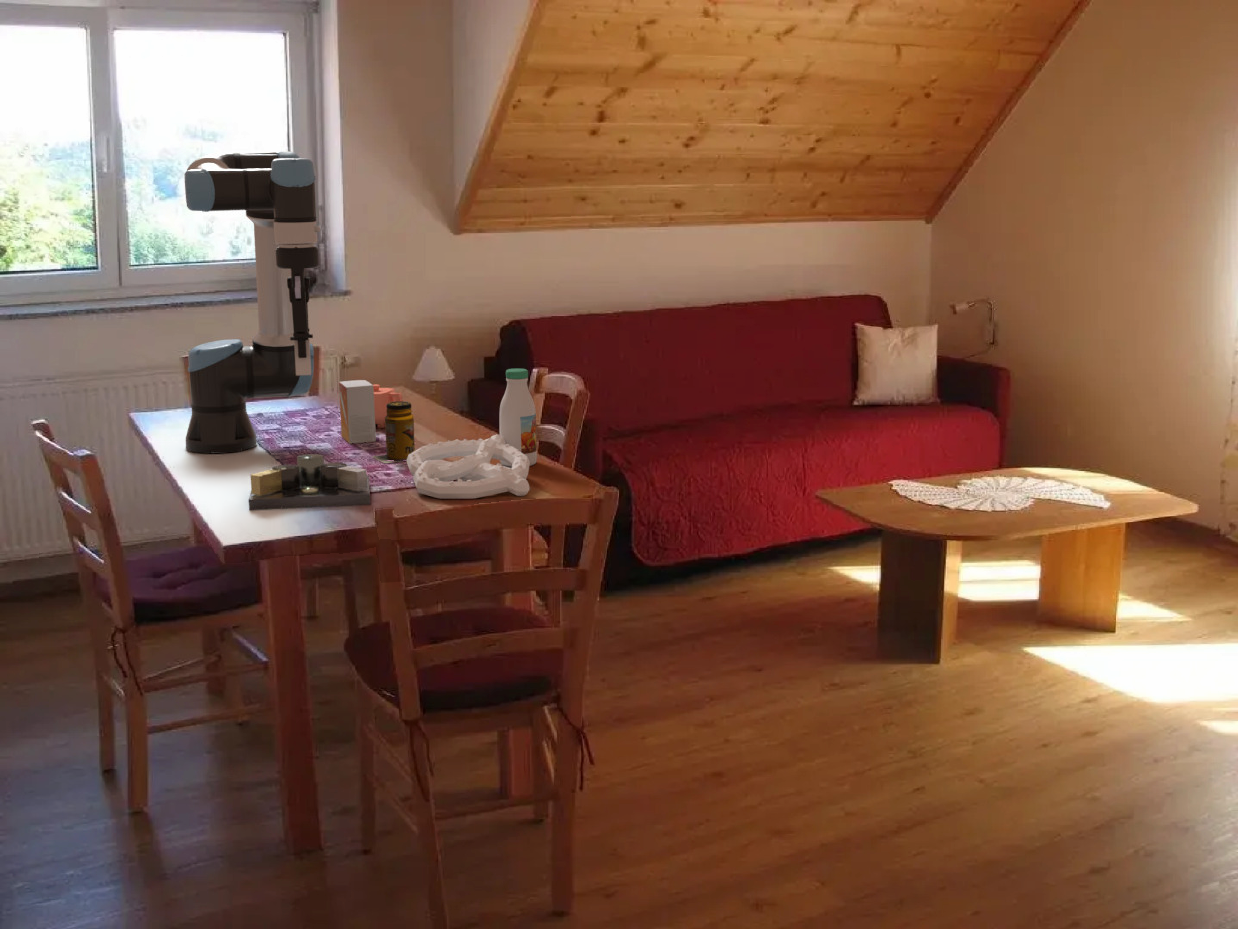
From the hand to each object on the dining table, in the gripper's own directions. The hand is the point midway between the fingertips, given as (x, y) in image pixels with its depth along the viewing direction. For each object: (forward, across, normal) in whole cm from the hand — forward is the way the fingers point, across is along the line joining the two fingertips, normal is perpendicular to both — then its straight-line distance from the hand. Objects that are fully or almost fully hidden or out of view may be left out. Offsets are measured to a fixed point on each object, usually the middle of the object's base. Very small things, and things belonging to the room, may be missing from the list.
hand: (303, 374), depth 259 cm
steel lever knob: (+22, +2, -6) cm, 23 cm away
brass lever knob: (+22, +2, +6) cm, 23 cm away
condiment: (+25, +34, -17) cm, 46 cm away
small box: (+25, +56, -9) cm, 61 cm away
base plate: (+24, +4, 0) cm, 25 cm away
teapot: (+25, +72, -13) cm, 78 cm away
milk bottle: (+25, +25, -42) cm, 55 cm away
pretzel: (+25, +9, -31) cm, 41 cm away
